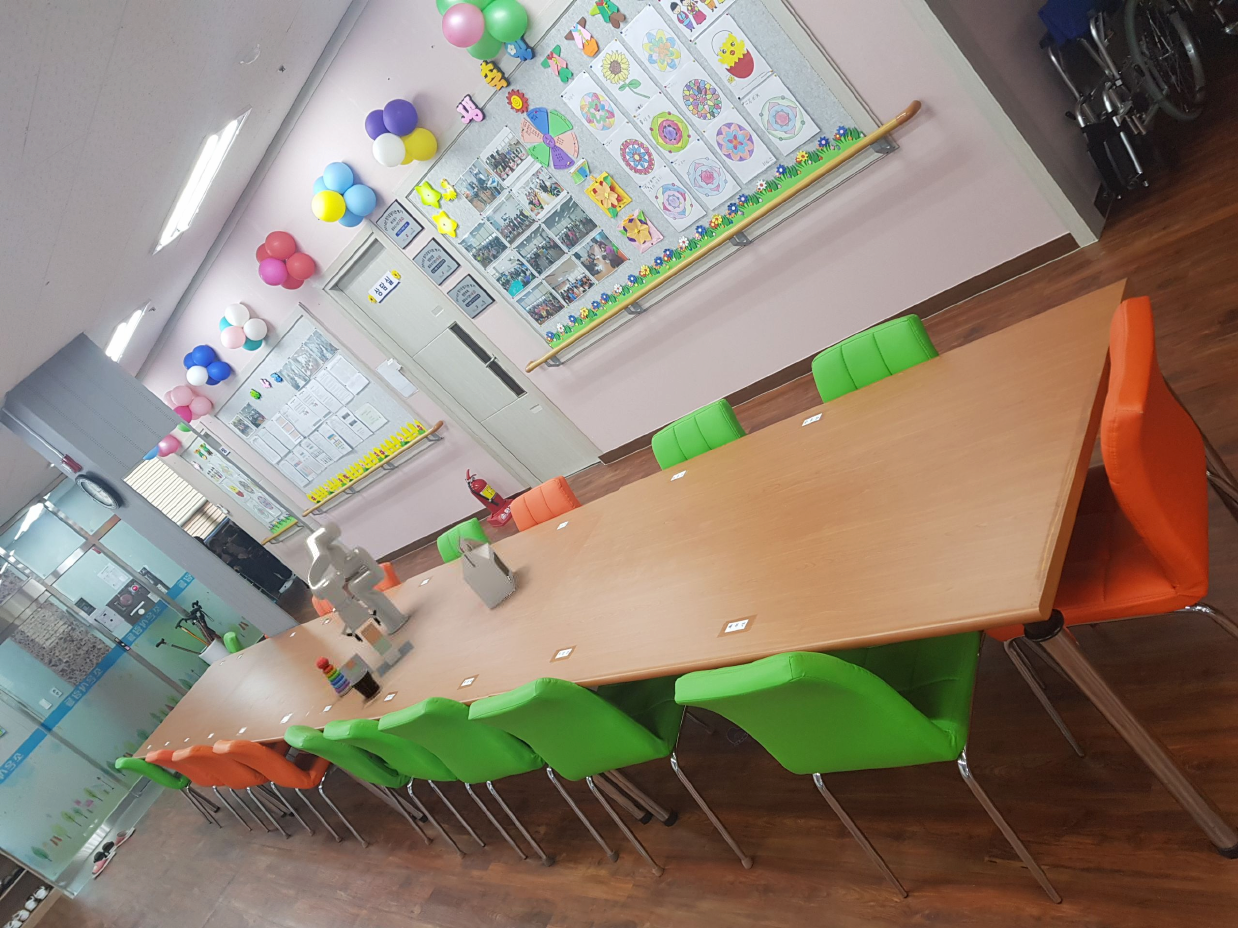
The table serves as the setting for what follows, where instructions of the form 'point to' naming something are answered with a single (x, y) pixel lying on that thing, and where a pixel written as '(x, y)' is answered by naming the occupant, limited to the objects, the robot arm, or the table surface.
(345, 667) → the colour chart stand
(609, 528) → the table surface
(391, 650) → the off-white base block
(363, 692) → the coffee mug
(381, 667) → the build plate
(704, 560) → the table surface
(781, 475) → the table surface
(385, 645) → the sage green block
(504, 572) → the gable box
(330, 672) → the stacking toy
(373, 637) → the terracotta block
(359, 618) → the robot arm
